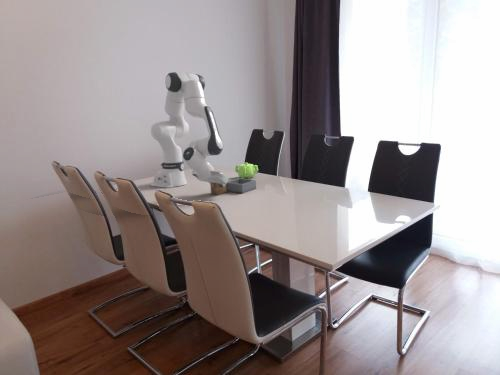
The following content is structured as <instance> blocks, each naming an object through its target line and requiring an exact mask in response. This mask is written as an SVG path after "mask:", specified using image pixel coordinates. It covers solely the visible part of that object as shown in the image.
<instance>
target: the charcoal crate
mask: <svg viewBox="0 0 500 375" xmlns="http://www.w3.org/2000/svg"><path fill="white" fill-rule="evenodd" d="M254 190H257V180H256V179H252V178H251V179H248V178H244V179H243V178H242V177H238V178H235V179H231V180H228V182H227V184H226V192H231V193H237V194H245V193H249V192H251V191H254Z"/></svg>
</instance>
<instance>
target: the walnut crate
mask: <svg viewBox="0 0 500 375" xmlns="http://www.w3.org/2000/svg"><path fill="white" fill-rule="evenodd" d="M209 184H210V194H211V195H217V196H221V195H224V194H227V191H226V184H225V187H222V186H221V184H219V183H212V182H210V183H209Z"/></svg>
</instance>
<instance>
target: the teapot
mask: <svg viewBox="0 0 500 375" xmlns="http://www.w3.org/2000/svg"><path fill="white" fill-rule="evenodd" d="M234 172H235V173H237V175H238V178H243V179H245V178H247V179H251V180H252V178H253V177H254V176H255V175H256V173H258V172H259V168H258V165H256V164H255V165H254V164H253V163H248V162H244V163H242V164H240V165H237V164H236V165H235V170H234Z"/></svg>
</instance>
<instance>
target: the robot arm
mask: <svg viewBox="0 0 500 375" xmlns="http://www.w3.org/2000/svg"><path fill="white" fill-rule="evenodd" d="M164 83H165V87H166V89H167V92H166V98H165V104H164V111H165V113H166V114H167V115H169V119H168V120H162V121H158V122H155V123H153V124H152V125H151V127H150V134H151V137H152V139H154V140H156V141H157V142H158V143H159V145H160V147H161V150H162V154H163V162H162V163H160V167H161V168H160V170H159V171H158V172H156V173H155V174H154V176H153V182H151V183H150V185H149V186H150V187H157V188H167V189H168V188H173V187H174V188H175V187H181V186H184V185H185V186H186V184H188V181H187V178H186V175H185V167H184V166H185V165H184V162H185V163H186V165H187V166H188V167H189V168H190V169H191V170H192V172H191V175H192V176H193V177H194V178H196V180H199V181H200V182H206V183H209V184H210V182H212V183H219V184H221V186H222V187H225V184H227V182H228V181H230V179H229V177H228V176H227V175H225V174H224V173H223V172H222V171H217V170H215V168H214V166H213V165H212V164H211V163H210V162H209V161H208V160H207V159H206V158H207V157H211V156H219V155H220V154H221V153H222V151H223V149H224V142H223V140H222V138H221V135H220V131H219V129H218V126H217V121H216V118H215V116H214V113H213V110H212V108H211V106H208V105H207V102H206V98H205V93H204V90H205V87H206V81H205V78H204V77H203V76H202V75H200V74H198V73H197V74H194V73H190V72H175V71H172V72H169V73H168V74H166V77H165V82H164ZM184 112H186V113H187V114H188V115H190V116H191V117H194V118H199V119H203V120H204V122H205V126H206V128H207V129H206V130H207V132H208V136H207V137H204V138H199V139H195V140H193V141H191V142H190V143H189V145H188V147H186V149H184V151H183V150H182V148H181V147H180V146H179V145H178V144H177V143H176V142H175V139H180V138H182V137H185V136H187V135H189V132H190V126H189V123H188V122H187V121H186V120H185V116H184Z"/></svg>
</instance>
